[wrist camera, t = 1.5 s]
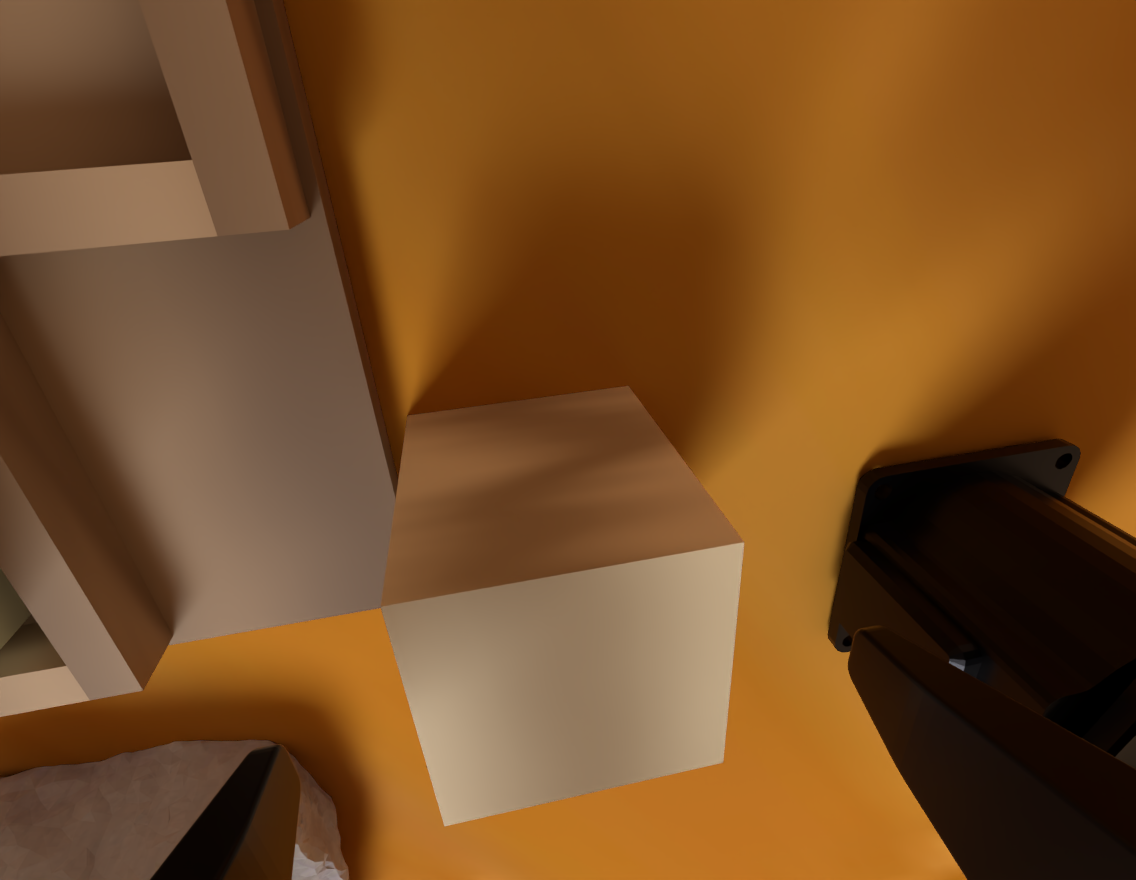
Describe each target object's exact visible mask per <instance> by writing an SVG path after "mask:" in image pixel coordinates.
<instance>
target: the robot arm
mask: <svg viewBox="0 0 1136 880" xmlns="http://www.w3.org/2000/svg"><path fill="white" fill-rule="evenodd" d="M1080 454H1081V452H1080V449H1079V448H1078V447H1077V446H1075V445H1073V444H1071V443H1069V442H1067V441H1065V440H1063V439H1053V440H1047V441H1041V442H1035V443H1028V444H1022V445H1016V446H1010V447H1004V448H998V449H992V450H986V451H980V452H973V453H967V454H961V455H955V456H949V457H943V458H937V459H931V460H925V461H919V462H912V463H906V464H900V465H894V466H888V467H882V468H877V469H874V470H871V471H869V472H868V473H866V474H865V475H864V476H863V477H862V478H861V479H860V481H859V483H858V485H857V489H856V494H855V499H854V504H853V509H852V514H851V519H850V524H849V529H848V534H847V539H846V544H845V550H844V555H843V560H842V565H841V570H840V575H839V580H838V585H837V590H836V595H835V600H834V605H833V610H832V615H831V620H830V625H829V630H828V639H829V640H830V641H831V643H832V644H833V645H834V647H835V648H836V649H837V650H838V651H840V652H850V655H849V660H848V670H849V674H850V677H851V679H852V682H853V684H854V685H855V687H856V689H857V691H858V693H859V695H860V697H861V699H862V701H863V703H864V705H865V707H866V709H867V711H868V713H869V715H870V717H871V719H872V721H873V723H874V725H875V726H876V728H877V730H878V732H879V734H880V736H881V738H882V740H883V742H884V744H885V746H886V748H887V750H888V752H889V754H890V756H891V758H892V759H893V761H894V763H895V765H896V767H897V769H898V770H899V772H900V774H901V775H902V777H903V779H904V780H905V782H906V784H907V785H908V787H909V788H910V790H911V792H912V793H913V795H914V796H915V798H916V799H917V801H918V803H919V804H920V806H921V807H922V809H923V810H924V812H925V814H926V815H927V817H928V818H929V820H930V821H931V823H932V825H933V826H934V828H935V829H936V831H937V833H938V834H939V836H940V837H941V839H942V840H943V842H944V844H945V845H946V847H947V848H948V850H949V851H950V853H951V855H952V856H953V858H954V859H955V861H956V862H957V864H958V866H959V867H960V869H961V870H962V872H963V873H964V875H965V877H966V878H967V880H1136V538H1135V537H1133V536H1131V535H1130V534H1128V533H1126V532H1124V531H1123V530H1121V529H1119V528H1118V527H1116V526H1114V525H1112V524H1111V523H1109V522H1107V521H1106V520H1104V519H1102V518H1100V517H1099V516H1097V515H1095V514H1093V513H1092V512H1090V511H1088V510H1087V509H1085V508H1083V507H1081V506H1080V505H1078V504H1076V503H1074V502H1073V501H1071V500H1069V499H1068V498H1066V497H1064V496H1065V493H1066V491H1067V488H1068V486H1069V483H1070V481H1071V478H1072V476H1073V473H1074V471H1075V468H1076V466H1077V463H1078V461H1079V458H1080ZM879 486H881V487H880V488H879V489H878V490H876V489H877V488H878V487H879ZM300 795H301V784H300V778H299V775H298V773H297V771H296V769H295V767H294V764H293V762H292V760H291V758H290V756H289V754H288V752H287V749H286V748H285V746H283V745H282V744H274V745H269V746H264V747H259V748H256V749H253V750H252V751H251V752H249V753H248V754H247V755H246V757H245V758H244V759H243V761H242V762H241V763H240V764H239V766H238V767H237V768H236V769H235V771H234V772H233V773H232V775H231V776H230V777H229V778H228V780H227V781H226V782H225V784H224V785H223V786H222V787H221V789H220V790H219V791H218V793H217V794H216V795H215V796H214V798H213V799H212V800H211V802H210V803H209V804H208V805H207V807H206V808H205V809H204V810H203V812H202V813H201V814H200V816H199V817H198V818H197V819H196V821H195V822H194V823H193V825H192V826H191V827H190V828H189V830H188V831H187V832H186V834H185V835H184V836H183V837H182V839H181V840H180V841H179V843H178V844H177V845H176V846H175V848H174V849H173V850H172V851H171V853H170V854H169V855H168V857H167V858H166V859H165V860H164V862H163V863H162V864H161V866H160V867H159V868H158V869H157V871H156V872H155V873H154V875H153V876H152V877H151V878H150V880H292V872H293V862H294V853H295V843H296V834H297V824H298V815H299V805H300Z"/></svg>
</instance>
